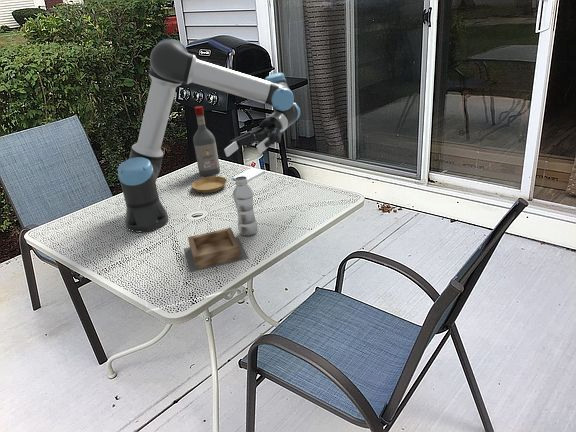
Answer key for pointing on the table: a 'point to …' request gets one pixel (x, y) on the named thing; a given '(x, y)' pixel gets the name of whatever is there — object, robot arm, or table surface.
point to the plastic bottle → (244, 207)
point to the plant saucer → (209, 184)
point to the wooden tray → (214, 248)
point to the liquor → (205, 147)
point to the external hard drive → (250, 174)
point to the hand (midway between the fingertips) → (242, 151)
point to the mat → (193, 268)
